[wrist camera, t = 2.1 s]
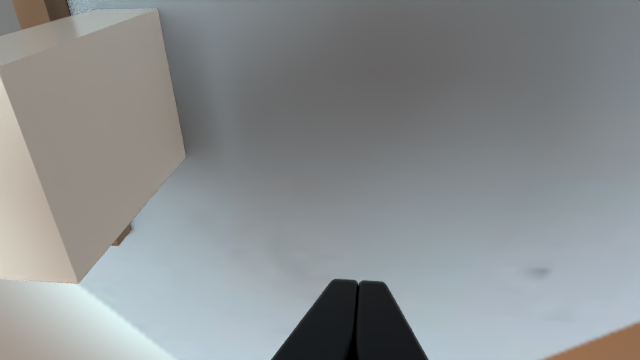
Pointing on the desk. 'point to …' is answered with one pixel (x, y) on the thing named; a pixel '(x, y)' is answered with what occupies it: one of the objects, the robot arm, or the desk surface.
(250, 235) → the desk surface
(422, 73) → the desk surface
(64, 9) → the walnut rail
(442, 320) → the desk surface
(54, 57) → the cream rectangular block
